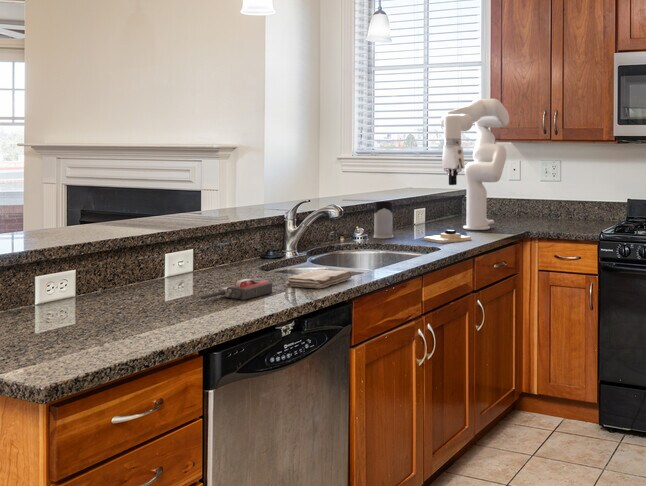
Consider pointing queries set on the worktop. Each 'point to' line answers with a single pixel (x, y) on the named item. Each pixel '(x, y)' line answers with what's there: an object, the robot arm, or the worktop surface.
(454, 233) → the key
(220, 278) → the worktop surface
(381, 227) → the glass holder
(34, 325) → the worktop surface
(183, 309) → the worktop surface
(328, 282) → the washcloth
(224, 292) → the walkie-talkie
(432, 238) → the beige flat slab
